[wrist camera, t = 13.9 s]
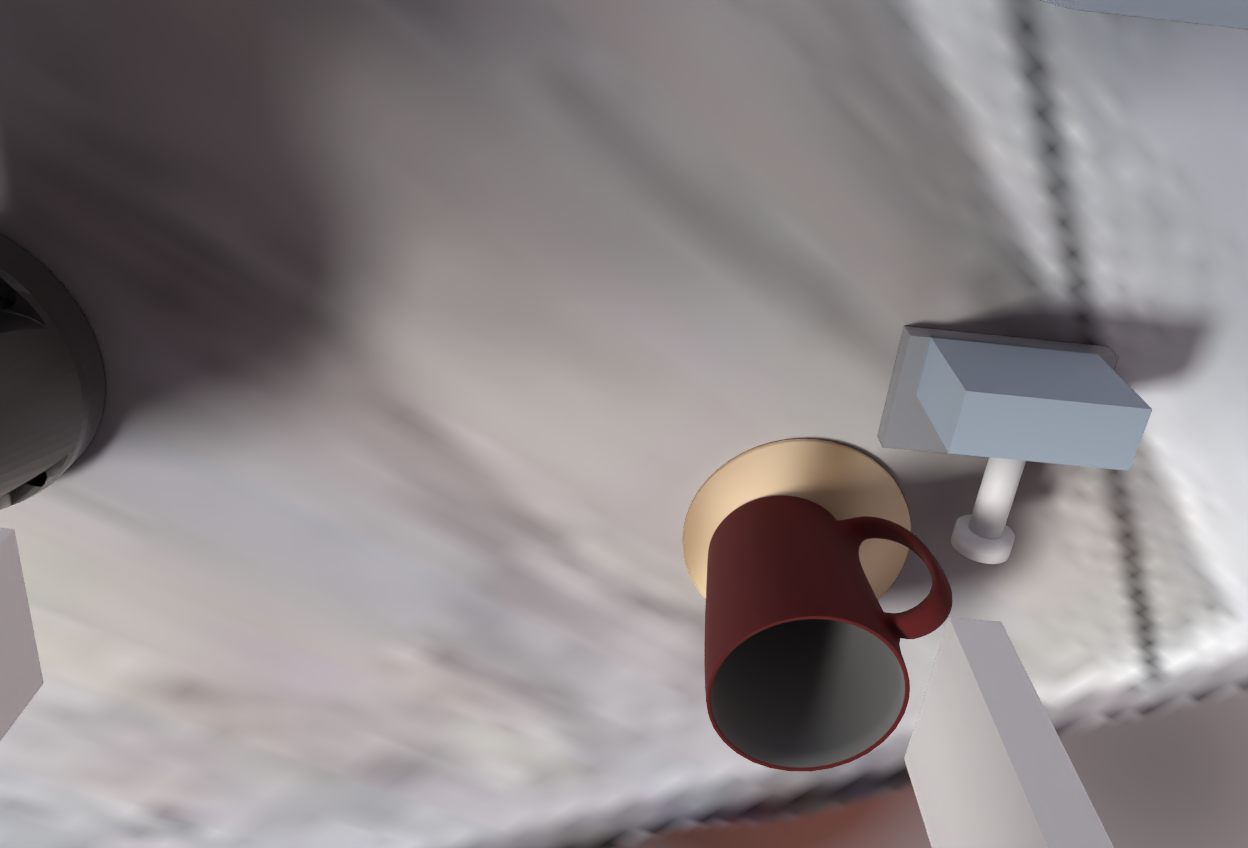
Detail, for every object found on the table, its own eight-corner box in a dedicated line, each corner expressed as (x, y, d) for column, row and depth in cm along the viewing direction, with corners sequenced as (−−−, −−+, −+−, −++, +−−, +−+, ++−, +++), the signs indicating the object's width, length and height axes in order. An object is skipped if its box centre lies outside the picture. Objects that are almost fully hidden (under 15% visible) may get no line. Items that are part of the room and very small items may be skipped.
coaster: (669, 617, 58) (669, 622, 58) (699, 427, 52) (699, 431, 52) (882, 636, 58) (883, 641, 58) (933, 450, 53) (935, 454, 53)
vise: (862, 495, 54) (892, 574, 48) (1053, -287, 39) (1134, -320, 32) (1050, 512, 55) (1104, 593, 48) (1315, -254, 39) (1444, -281, 33)
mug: (857, 418, 52) (910, 544, 42) (943, 539, 55) (1011, 682, 45) (660, 538, 55) (666, 679, 45) (752, 645, 58) (776, 799, 48)
